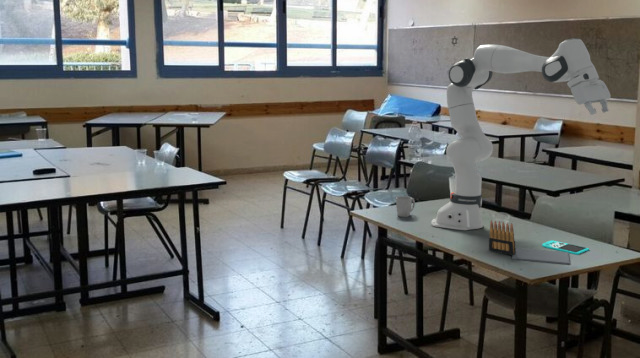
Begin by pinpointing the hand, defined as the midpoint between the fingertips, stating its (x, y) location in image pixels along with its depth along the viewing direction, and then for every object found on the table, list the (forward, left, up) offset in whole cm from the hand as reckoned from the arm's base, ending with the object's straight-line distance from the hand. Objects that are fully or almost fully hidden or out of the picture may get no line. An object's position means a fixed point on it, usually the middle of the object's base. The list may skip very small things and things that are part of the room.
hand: (600, 113), depth 247 cm
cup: (-77, +38, -54) cm, 102 cm away
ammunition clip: (-31, -10, -53) cm, 63 cm away
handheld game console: (-9, +5, -54) cm, 55 cm away
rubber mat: (-17, -10, -54) cm, 57 cm away
